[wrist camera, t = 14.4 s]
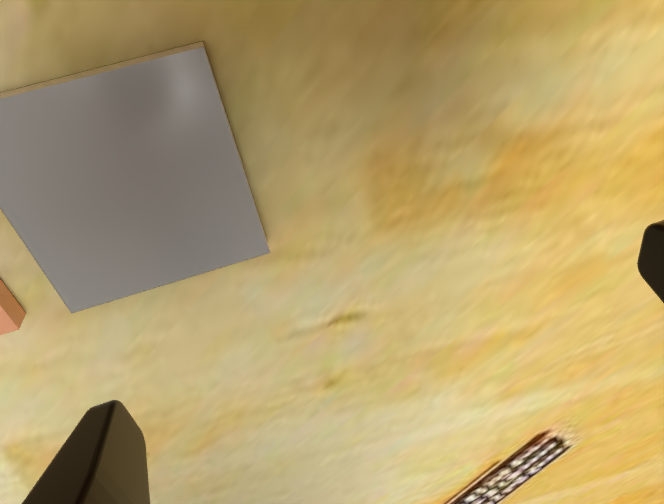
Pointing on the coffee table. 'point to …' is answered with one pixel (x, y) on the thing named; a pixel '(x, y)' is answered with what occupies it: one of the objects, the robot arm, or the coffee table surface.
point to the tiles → (124, 179)
